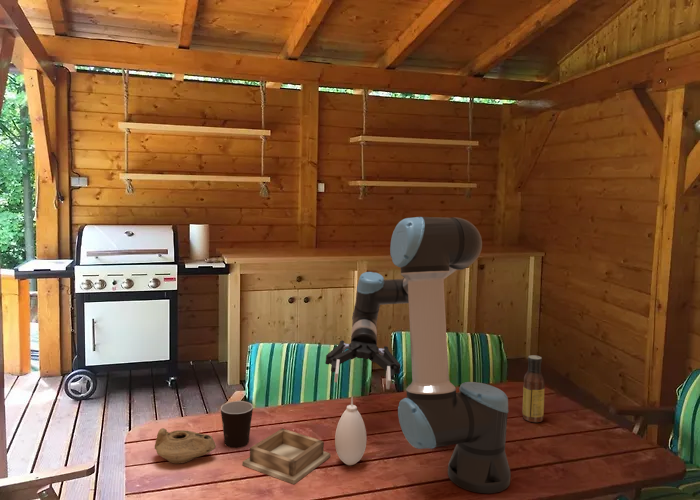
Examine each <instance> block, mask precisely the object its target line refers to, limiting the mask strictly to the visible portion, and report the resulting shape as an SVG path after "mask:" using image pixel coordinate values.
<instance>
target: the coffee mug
mask: <svg viewBox="0 0 700 500" xmlns="http://www.w3.org/2000/svg"><path fill="white" fill-rule="evenodd" d="M253 409H254V406H253V404H252V403H251V402H249V401H243V400H236V401H235V400H234V401H229V402H226V403H223V404H222V405H221V406H220V414H221V415H220V416H221V424H222V430H223V440H224V444H225V446H226V447H228V448H232V449H233V448H234V449H239V448H243V447H246V446H247V445H248V444H249V441H250V433H251V426H252V425H251V424H252V418H253V411H254V410H253Z"/></svg>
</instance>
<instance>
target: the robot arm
mask: <svg viewBox="0 0 700 500" xmlns="http://www.w3.org/2000/svg"><path fill="white" fill-rule="evenodd" d="M390 239H391V240H390V248H389V250H390V251H389V252H390V253H389V254H390V258H391V261H392V263H393V264H394V266H395V267H397V268H400V275H401V276H402V278H397V279H396V278H395V279H394V278H393V279H385V277H384V276H383V275H382V274H381V273H378V272H373V271H365V272H362V273H361V274H360V275H359V278H358V281H357V287H356V294H355V301H354V302H355V304H354V307H353V312H352V316H351V317H352V319H351V321H352V322H351V323H352V324H351V335H350V336H351V337H350V343H345V340H343V339H342V340H340V341H339V344H337V346H336V347H334V348H333V349H332V350H330V351H329V352H327V354H326V355H325V362H324V363H325V364H326V365H331V369H330V372H331V373H334V380H333V382H334V383H338V378H339V370H340V365H342V364H343V363H346V362H347V361H349V360H354V359H356V358H357V359H364V360H370V361H371V362H372V363H375V364H376V365H378V366H379V367H380V368H381V369H383V370H384V371H385V390H390V387H391V381H393V380H394V379H395V374H396V375H400V372H401V366H402V365H401V363H400V362H399V361H398V359H396V358H395V356H394V355H393V353H391V352H390V350H389V349H390V348H389V347H388V346H386V345H384V346H383V348H382V347H381V348H379V347H378V331H377V330H378V319H379V318H378V316H379V311H380V307H381V305H396V304H398V305H399V304H402V305H403V304H408V315H409V316H408V317H409V320H408V321H409V337H410V357H411V376H412V377H411V378H412V381H411V383H410V384H409V385H408V386H407V387H406V389H405V390H406V397H404V398H402V399H401V400H400V401H399V402H398V406H397V417H398V422H399V425H400V428H401V431H402V433H403V435H404V437H405V440H406V441H407V442H408V443H409V445H411V446H412V447H413V448H415V449H419V450H422V449H430V450H431V449H435V448H439V447H445V446H452V445H455V447H454V449H453V451H452V454H451V457H450V459H449V461H448V464H447V475H448V479H449V480H450V481H451V482H452V483H453V484H455V485H456V486H457V487H458V488H459V487H460V488H462V489H464V490H465V491H469V492H473V493H479V494H496V493H499V492H503V491H505V490H506V489H508V487H509V486H510V484H511V475H512V474H511V473H512V472H511V469H510V465H509V462H508V458H507V454H506V438H507V425H508V424H507V423H508V414H509V412H510V411H509V397H508V396H507V394H506V392H504V391H503V390H501V389H500V388H498V387H495V386H493V385H491V384H488V383H487V384H486V383H484V382H483V383H482V382H478V381H477V382H475V381H466V382H463V383H461V384H460V386H459V388H458V390H459V392H457V388H456V387H455V385H454V384H453V383H452V382H451V381H450V377H449V374H450V373H449V358H448V357H449V355H448V341H447V339H448V338H447V320H446V319H447V317H446V306H445V305H446V304H445V303H446V302H445V285H444V283H445V282H444V280H445V279H447V277H449V276H450V275H452V274H453V273H455V272H456V271H461V270H465V269H466V268H468V267H469V266H471V265H472V264H474V263H475V262H476V261H477V259H478V258H479V257H480V254H481V252H482V248H483V240H482V235H481V234H480V231H479V230H478V227H476V226H475V225H474V224H473V222H471V221H469V220H467V219H466V218H465V219H464V218H462V217H454V216H453V217H451V216H450V217H442V216H441V217H439V216H438V217H433V216H431V217H430V216H416V217H406V218H403V219H401V220H400V221H398V223H397V224H396V226H395V227H394V230H393V232H392V235H391V238H390Z"/></svg>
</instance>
